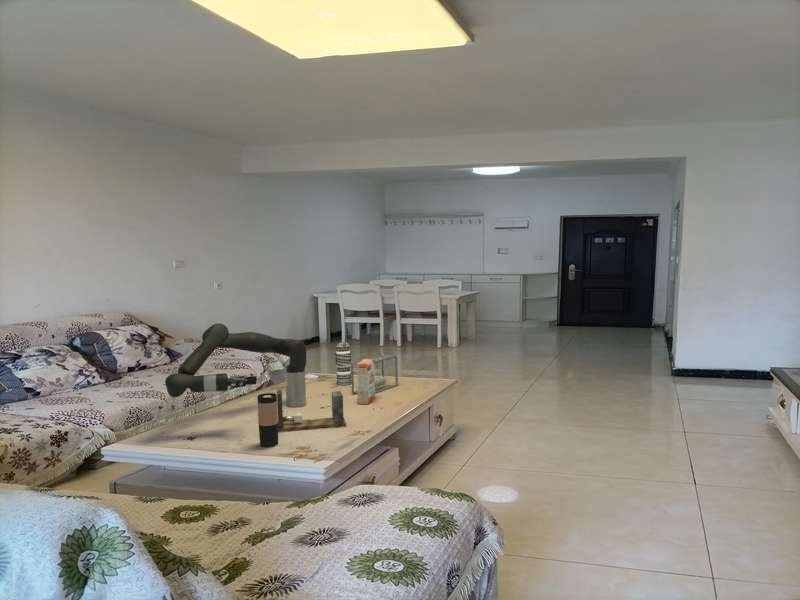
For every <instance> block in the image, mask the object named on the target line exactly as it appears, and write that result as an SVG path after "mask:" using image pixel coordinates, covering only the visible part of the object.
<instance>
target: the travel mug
mask: <svg viewBox="0 0 800 600" xmlns="http://www.w3.org/2000/svg"><path fill="white" fill-rule="evenodd" d="M257 416H258V417H257V420H258V423H257V424H258V434H259V435H258V437H259V446H260V447H263V448H273V447H276V446H278V445H279V432H278V404H277V393H274V392H270V393H269V392H268V393H260V394H258V395H257Z"/></svg>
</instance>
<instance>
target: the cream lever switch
mask: <svg viewBox="0 0 800 600" xmlns="http://www.w3.org/2000/svg"><path fill="white" fill-rule="evenodd" d="M294 418H295V422H302V420H303V413H300V411H297V413H295V414H294Z"/></svg>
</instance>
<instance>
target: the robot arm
mask: <svg viewBox="0 0 800 600" xmlns="http://www.w3.org/2000/svg"><path fill="white" fill-rule="evenodd" d="M201 339H202V342H201V343H200V345H198V346H197V348H195V350H193V351H192V352H191V353H190V354H189V355H188V357H187V358H186V359H184V361H183V362H182V364H180V365H179V367H178V369H177V373H173V374H169V375H167V377H166V378H165V381H164V383H165V388H166V390H167V394H168V395H169V396H170V397H171V398H179V397H181V396H183V394H184V393H185V392H186V391H187V389H189V391H191V392H192V393H218V392H228V390H229V387H230V388H232V389H234V388H242V387H244V388H245V387H246V386H253V385H257V382H258V376H256V375H255V376H247V375H244V374H243V375H232V376H231V377H229V376H228V373H211V374H202V375H197V374H196V373H197V372H198V371H199V370H200V369H201V367H202V366H203V364H204V363H205V362H206V361H207V360H208V359H209V357H210V356H211V354H212V353H213V352H214V351H215V350H216V349H217V348H221V349H222V348H223V349H234V350H241V351H246V352H252V353H259V354H260V353H261V354H267V353H268V354H269V353H270V354H272V353H273V354H279V355H282V356H285V357H288V358H289V364H288V365H286V368H285V371H286V372H285V374H286V386H285V400H286V403H285V404H286V406H288V407H291V408H299V407H304V406H306V405H307V392H306V391H307V389H306V366H307V347H306V343H305V342H304V341H302V340H299V339H294V338H277V337H275V336H274V337H273V336H272V335H271V336H270V335H267V334H264V333H259V332H252V331H247V332H246V331H244V332H238V333H237V332H235V333H231V332H229V328H228V327H227V326H226V325H225V324H223V323H214V324H211V325H210V326H209V327H208V328H207V329H206V330H205V331H204V332H203V333H202V336H201Z"/></svg>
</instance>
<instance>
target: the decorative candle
mask: <svg viewBox="0 0 800 600" xmlns="http://www.w3.org/2000/svg"><path fill="white" fill-rule="evenodd" d="M335 347H336V350H335V353H334V355H335V356H334V358H335V367H336V387H337V386H338V387H337V388H339V387H347V388H350V387H349V386H351V385H352V382H351V364H352V362H351V361H352V359H351V358H352V353H351V350H350V344H349V343H348V342H344V341H343V342H342V341H341V342H338V343H337V344H336V345H335ZM351 387H352V386H351Z"/></svg>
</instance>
